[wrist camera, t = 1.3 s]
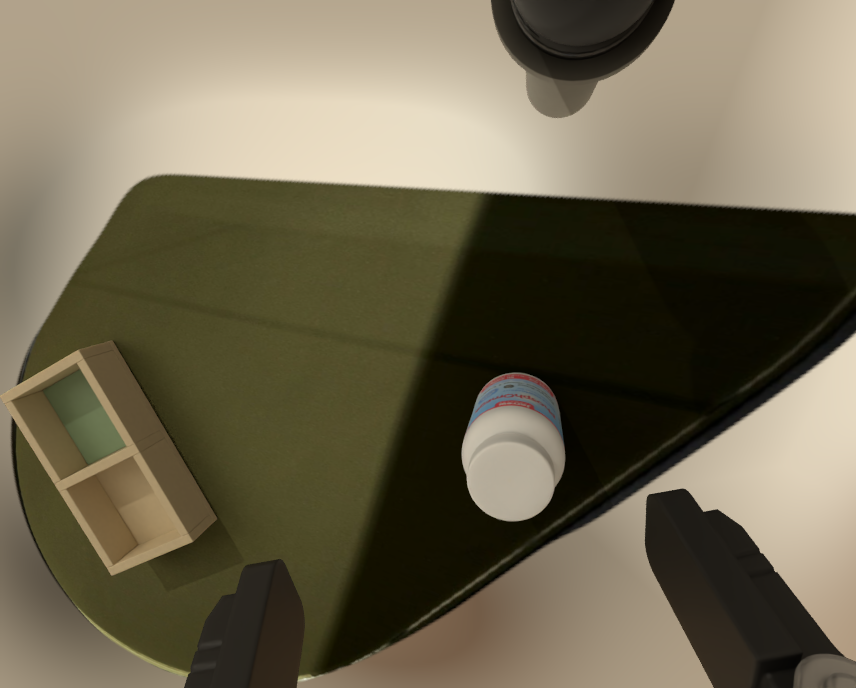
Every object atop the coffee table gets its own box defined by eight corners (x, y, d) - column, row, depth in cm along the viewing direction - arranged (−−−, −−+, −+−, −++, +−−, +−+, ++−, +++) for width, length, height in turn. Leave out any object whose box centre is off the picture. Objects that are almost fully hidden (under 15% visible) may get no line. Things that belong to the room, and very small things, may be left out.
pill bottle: (557, 369, 38) (568, 427, 27) (560, 449, 39) (571, 536, 28) (472, 371, 39) (450, 428, 28) (477, 449, 40) (457, 532, 29)
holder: (37, 383, 46) (-2, 396, 43) (112, 339, 44) (78, 349, 40) (140, 551, 48) (111, 576, 45) (217, 518, 46) (193, 542, 42)
